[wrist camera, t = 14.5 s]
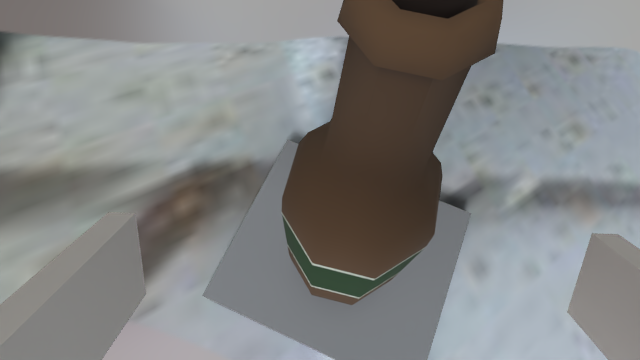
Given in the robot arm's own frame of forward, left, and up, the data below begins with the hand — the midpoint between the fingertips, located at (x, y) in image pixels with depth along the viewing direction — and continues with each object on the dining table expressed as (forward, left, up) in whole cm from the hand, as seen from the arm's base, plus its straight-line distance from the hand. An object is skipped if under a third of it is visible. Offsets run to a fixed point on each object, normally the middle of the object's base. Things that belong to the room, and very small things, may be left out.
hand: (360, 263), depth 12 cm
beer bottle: (+1, -5, -18) cm, 19 cm away
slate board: (+1, -5, -20) cm, 20 cm away
